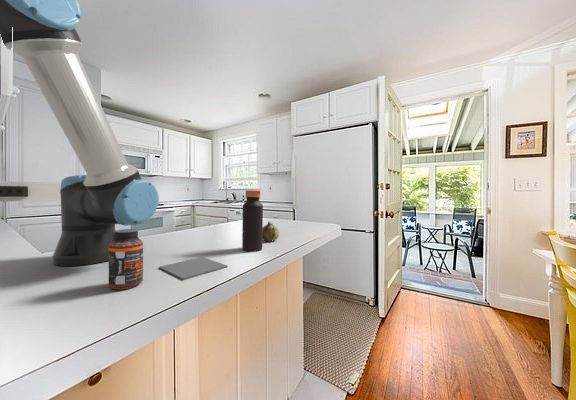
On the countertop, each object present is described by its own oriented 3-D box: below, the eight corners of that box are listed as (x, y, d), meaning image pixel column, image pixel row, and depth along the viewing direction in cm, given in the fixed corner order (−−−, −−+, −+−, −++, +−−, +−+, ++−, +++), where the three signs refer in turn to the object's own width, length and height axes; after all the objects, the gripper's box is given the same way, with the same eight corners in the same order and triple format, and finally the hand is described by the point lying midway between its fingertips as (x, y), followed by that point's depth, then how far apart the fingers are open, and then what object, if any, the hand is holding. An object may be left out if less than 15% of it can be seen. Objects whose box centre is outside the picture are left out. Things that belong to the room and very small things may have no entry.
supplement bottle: (126, 291, 46) (125, 233, 46) (100, 288, 47) (99, 231, 47) (149, 280, 52) (149, 228, 52) (126, 277, 53) (126, 227, 53)
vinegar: (238, 249, 81) (238, 190, 80) (253, 245, 86) (253, 190, 85) (251, 253, 76) (252, 190, 76) (266, 249, 82) (267, 190, 81)
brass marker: (110, 285, 49) (110, 284, 49) (134, 279, 53) (134, 278, 53) (117, 291, 47) (117, 290, 47) (142, 284, 50) (142, 283, 50)
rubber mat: (159, 268, 60) (159, 266, 60) (202, 258, 70) (202, 256, 70) (182, 280, 53) (182, 278, 53) (227, 267, 62) (227, 265, 62)
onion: (283, 240, 96) (284, 221, 95) (269, 244, 90) (269, 222, 89) (270, 238, 101) (270, 219, 100) (255, 240, 95) (256, 220, 94)
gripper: (-184, 215, 32) (42, 208, 48) (-350, 245, 16) (67, 219, 33) (-187, 159, 32) (42, 171, 48) (-360, 134, 16) (67, 164, 33)
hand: (53, 191), depth 41 cm, fingers open, 13 cm apart
